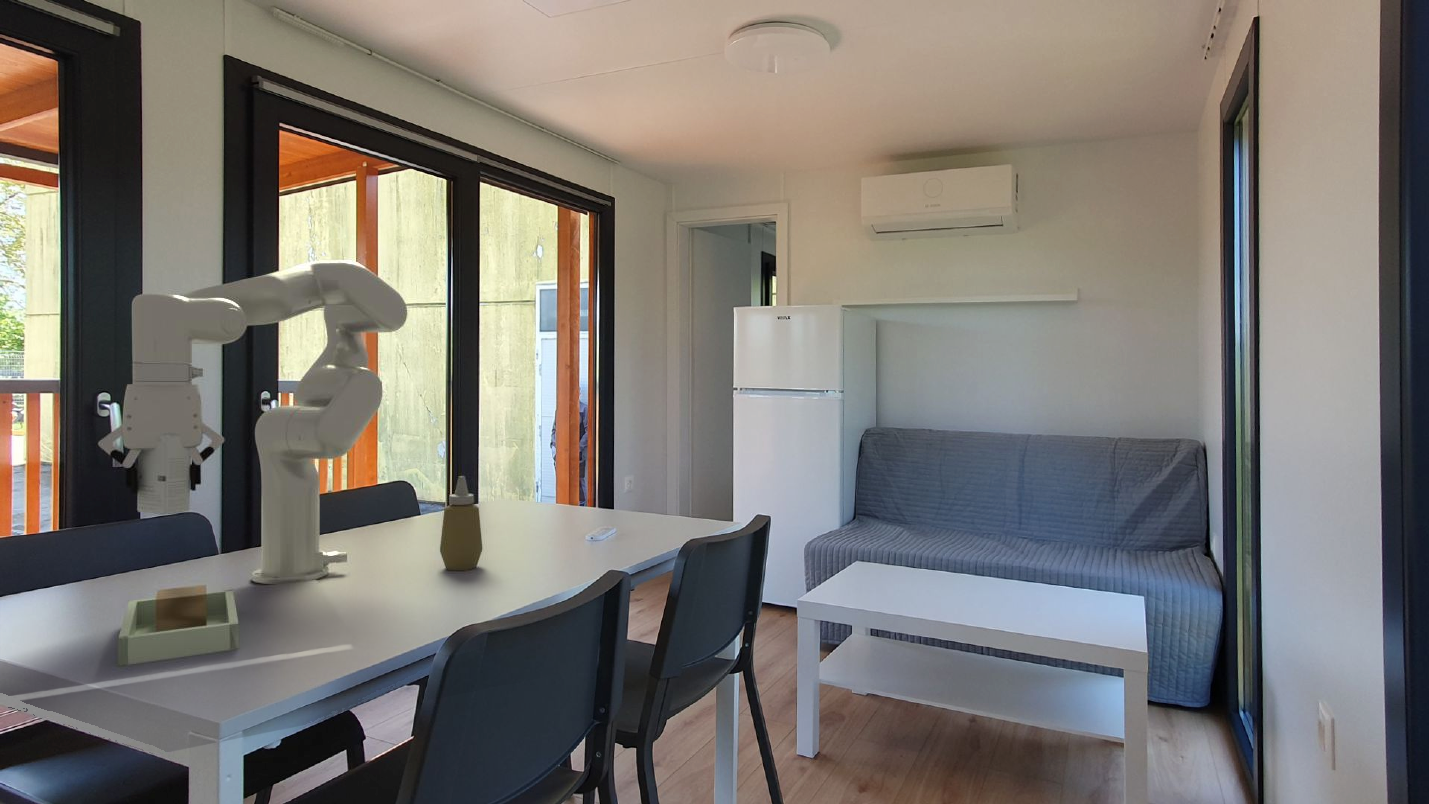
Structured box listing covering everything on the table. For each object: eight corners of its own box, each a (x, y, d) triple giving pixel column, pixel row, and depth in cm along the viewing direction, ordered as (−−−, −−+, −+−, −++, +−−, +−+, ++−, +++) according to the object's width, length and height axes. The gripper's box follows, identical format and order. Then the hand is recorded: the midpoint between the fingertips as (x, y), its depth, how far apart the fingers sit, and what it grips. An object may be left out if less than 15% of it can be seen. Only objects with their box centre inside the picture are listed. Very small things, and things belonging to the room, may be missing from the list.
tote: (232, 615, 124) (232, 589, 124) (238, 652, 108) (238, 623, 107) (129, 628, 117) (129, 600, 117) (118, 670, 100) (118, 639, 100)
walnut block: (206, 617, 121) (206, 584, 121) (206, 628, 116) (206, 594, 116) (157, 623, 117) (157, 590, 117) (156, 635, 112) (155, 599, 112)
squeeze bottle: (465, 561, 163) (466, 473, 162) (491, 567, 158) (491, 476, 158) (430, 568, 156) (431, 476, 156) (456, 574, 152) (457, 480, 151)
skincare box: (135, 512, 122) (134, 433, 122) (163, 508, 126) (162, 431, 126) (165, 515, 120) (164, 435, 120) (193, 510, 125) (192, 432, 124)
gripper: (228, 375, 130) (229, 484, 131) (94, 374, 121) (95, 492, 122) (229, 376, 124) (231, 490, 125) (88, 375, 115) (90, 499, 115)
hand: (164, 490), depth 123 cm, fingers closed on skincare box, 6 cm apart
